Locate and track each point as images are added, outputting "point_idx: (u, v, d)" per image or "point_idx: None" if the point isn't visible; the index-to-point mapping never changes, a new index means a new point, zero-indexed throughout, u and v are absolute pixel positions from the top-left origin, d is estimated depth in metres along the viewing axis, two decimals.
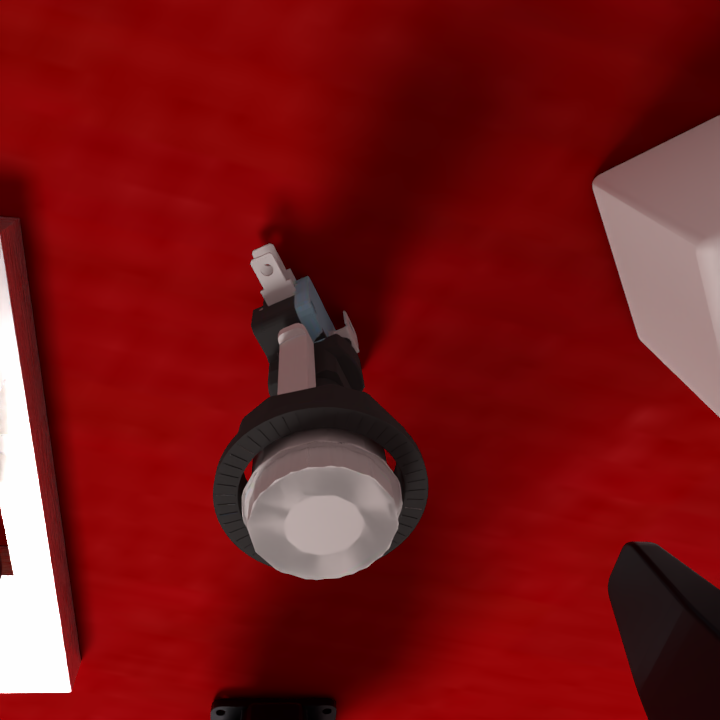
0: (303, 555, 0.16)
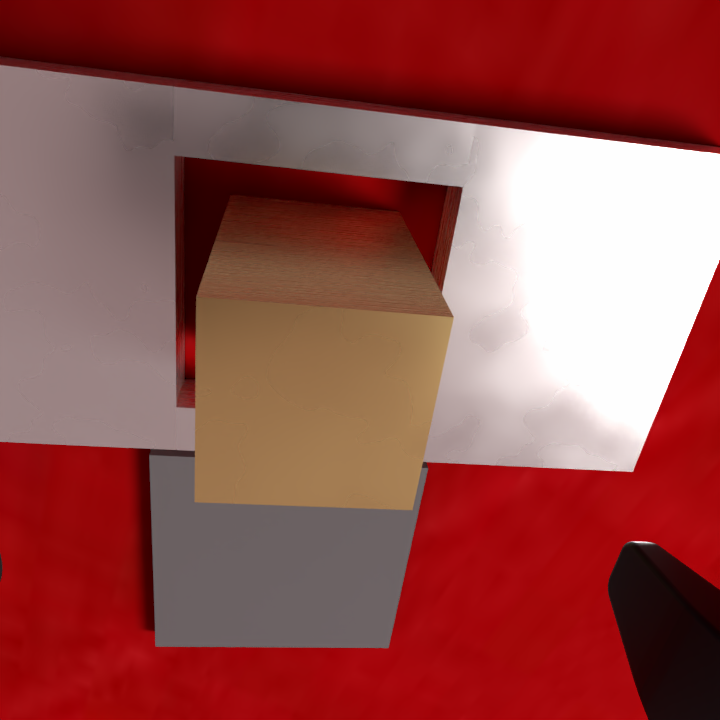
0: None
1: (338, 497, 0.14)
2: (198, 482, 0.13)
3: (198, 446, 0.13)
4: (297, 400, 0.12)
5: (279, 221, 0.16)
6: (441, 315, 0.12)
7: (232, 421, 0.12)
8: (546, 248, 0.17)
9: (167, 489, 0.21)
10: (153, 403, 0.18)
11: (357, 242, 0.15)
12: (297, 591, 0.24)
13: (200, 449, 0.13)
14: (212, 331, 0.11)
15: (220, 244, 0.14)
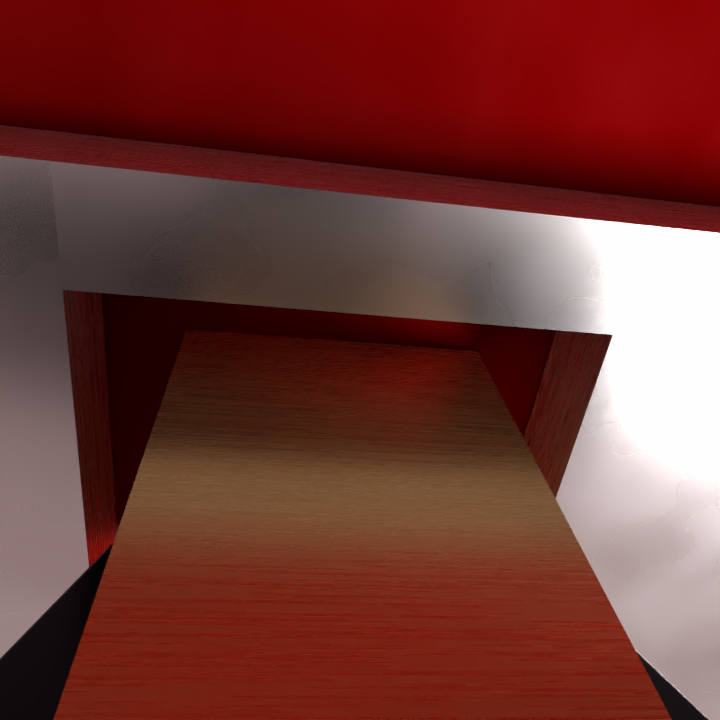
0: None
1: None
2: None
3: None
4: None
5: (270, 409, 0.08)
6: None
7: None
8: None
9: None
10: None
11: (423, 466, 0.07)
12: None
13: None
14: None
15: (135, 521, 0.06)
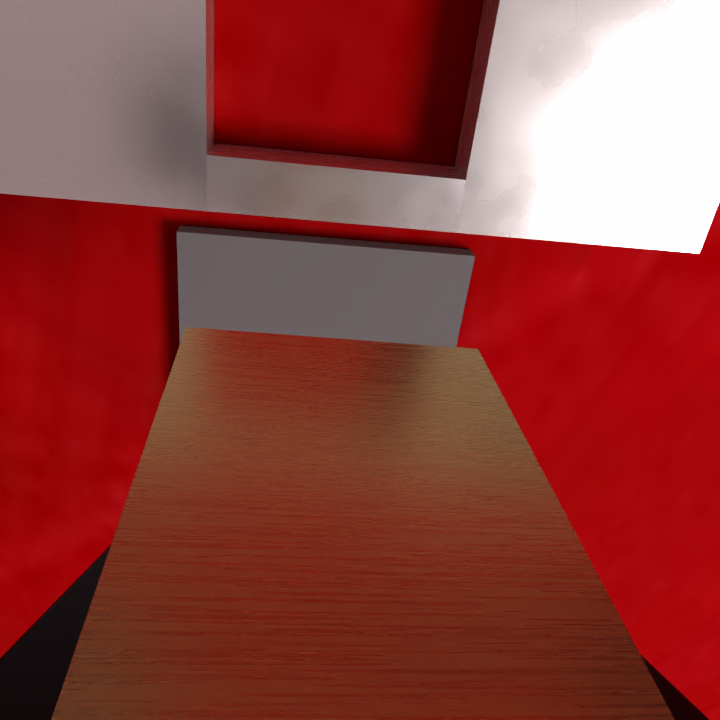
0: None
1: None
2: None
3: None
4: None
5: (270, 407, 0.08)
6: None
7: None
8: None
9: (195, 276, 0.20)
10: (181, 149, 0.17)
11: (423, 463, 0.07)
12: None
13: None
14: None
15: (134, 518, 0.06)
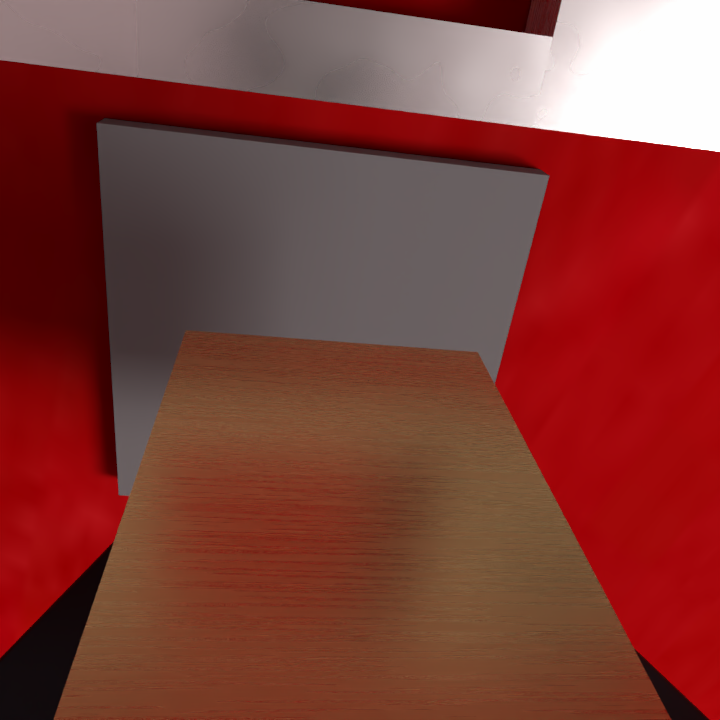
0: None
1: None
2: None
3: None
4: None
5: (270, 411, 0.08)
6: None
7: None
8: None
9: (128, 197, 0.13)
10: None
11: (424, 468, 0.07)
12: None
13: None
14: None
15: (134, 523, 0.06)
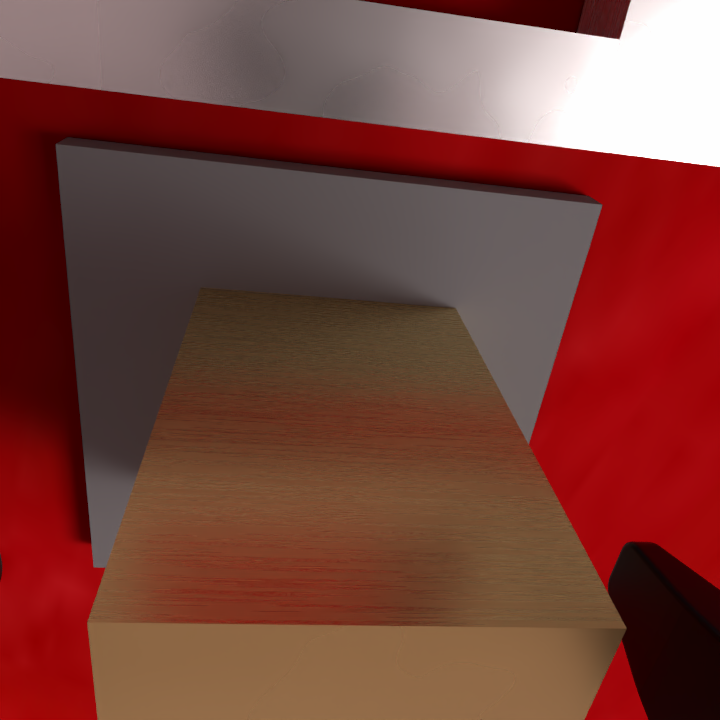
0: None
1: None
2: None
3: None
4: None
5: (274, 348, 0.10)
6: (600, 625, 0.06)
7: None
8: None
9: (97, 232, 0.11)
10: None
11: (403, 390, 0.09)
12: None
13: None
14: (127, 676, 0.05)
15: (166, 422, 0.08)
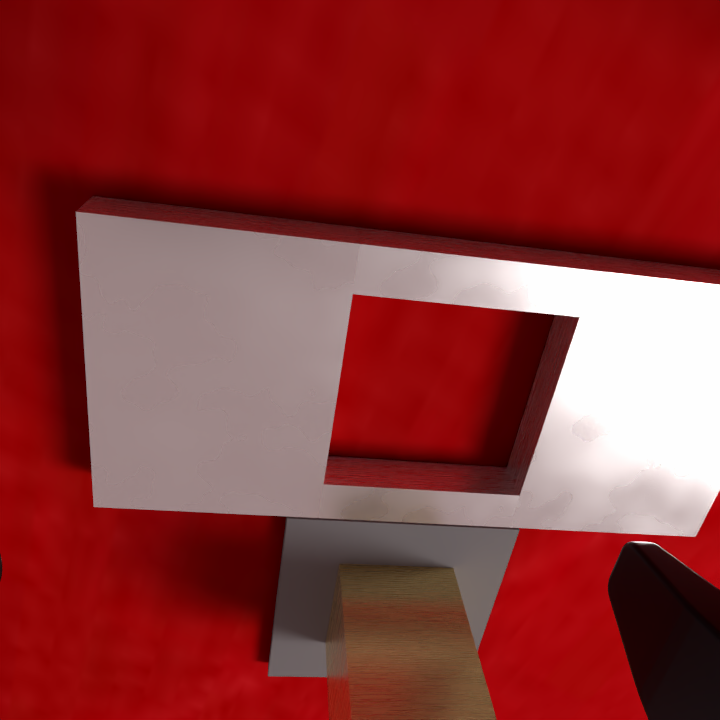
0: None
1: None
2: None
3: None
4: None
5: (379, 608, 0.23)
6: None
7: None
8: (641, 363, 0.21)
9: (298, 546, 0.24)
10: (305, 480, 0.22)
11: (432, 633, 0.23)
12: None
13: None
14: None
15: (350, 658, 0.21)
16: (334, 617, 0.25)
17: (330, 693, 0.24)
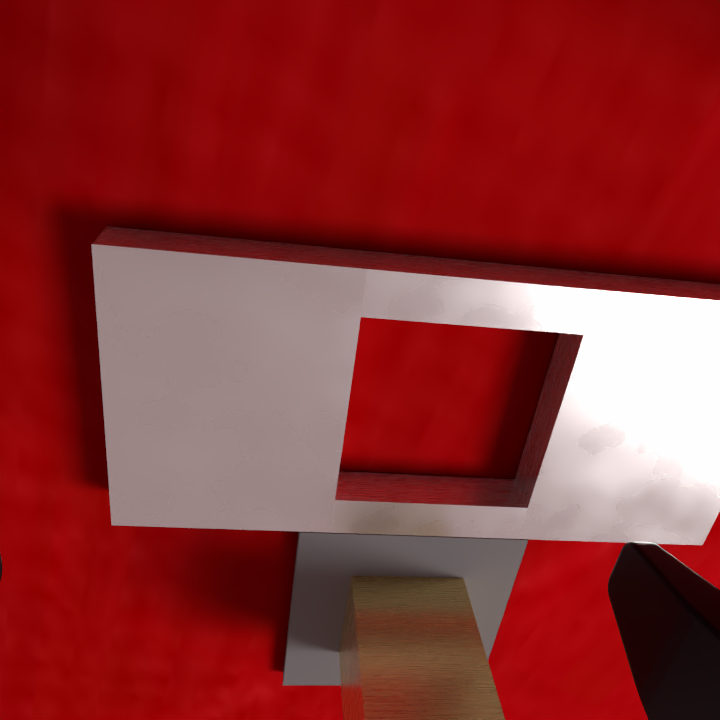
0: None
1: None
2: None
3: None
4: None
5: (391, 619, 0.24)
6: None
7: None
8: (645, 378, 0.21)
9: (310, 559, 0.25)
10: (316, 497, 0.22)
11: (444, 643, 0.23)
12: None
13: None
14: None
15: (364, 670, 0.22)
16: (347, 628, 0.25)
17: (344, 702, 0.25)
